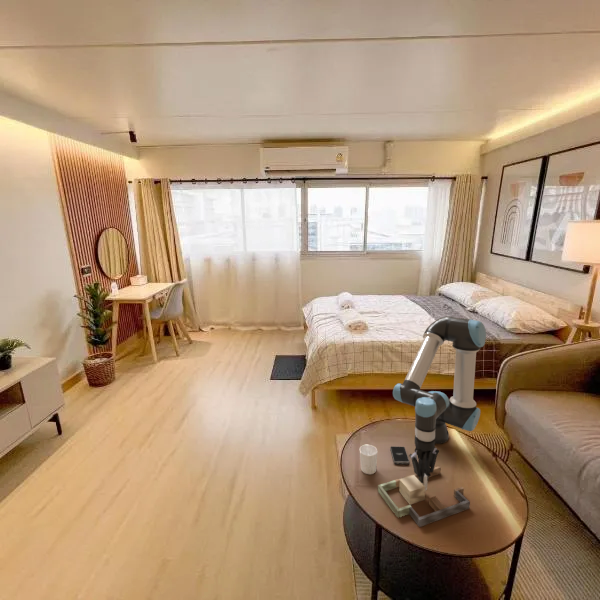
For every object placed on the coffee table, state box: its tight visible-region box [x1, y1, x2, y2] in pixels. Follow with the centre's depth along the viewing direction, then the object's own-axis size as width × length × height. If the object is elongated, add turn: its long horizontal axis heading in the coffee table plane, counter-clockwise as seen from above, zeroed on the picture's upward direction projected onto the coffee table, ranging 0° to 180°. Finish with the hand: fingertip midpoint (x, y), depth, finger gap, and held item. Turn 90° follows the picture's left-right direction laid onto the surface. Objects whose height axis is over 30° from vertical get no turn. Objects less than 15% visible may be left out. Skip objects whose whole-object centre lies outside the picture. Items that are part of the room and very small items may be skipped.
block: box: [398, 474, 426, 506], centre depth 132 cm, size 7×7×6 cm
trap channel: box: [377, 465, 471, 528], centre depth 131 cm, size 31×20×3 cm, turn 108°
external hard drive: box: [389, 445, 410, 466], centre depth 156 cm, size 7×11×2 cm, turn 174°
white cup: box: [358, 444, 378, 475], centre depth 148 cm, size 8×8×10 cm
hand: (423, 488), depth 134 cm, fingers closed
